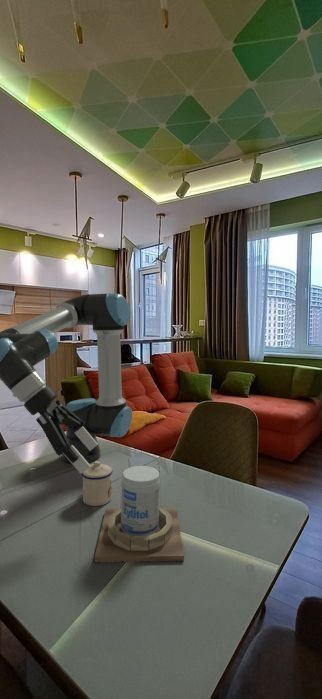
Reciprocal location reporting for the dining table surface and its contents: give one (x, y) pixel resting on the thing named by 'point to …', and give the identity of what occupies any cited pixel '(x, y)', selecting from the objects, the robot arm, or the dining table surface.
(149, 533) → the supplement tub
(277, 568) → the dining table surface
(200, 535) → the dining table surface
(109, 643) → the dining table surface
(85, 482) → the teacup with lid
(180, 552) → the ring holder
